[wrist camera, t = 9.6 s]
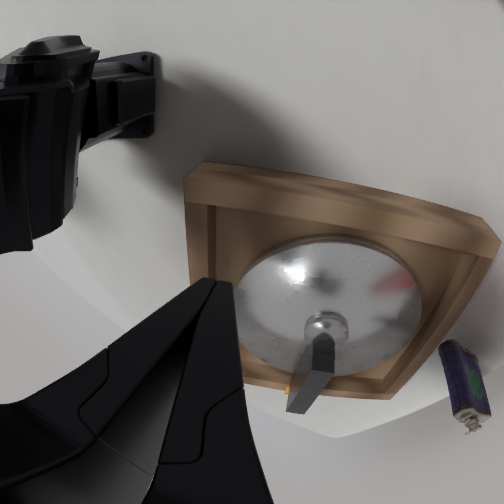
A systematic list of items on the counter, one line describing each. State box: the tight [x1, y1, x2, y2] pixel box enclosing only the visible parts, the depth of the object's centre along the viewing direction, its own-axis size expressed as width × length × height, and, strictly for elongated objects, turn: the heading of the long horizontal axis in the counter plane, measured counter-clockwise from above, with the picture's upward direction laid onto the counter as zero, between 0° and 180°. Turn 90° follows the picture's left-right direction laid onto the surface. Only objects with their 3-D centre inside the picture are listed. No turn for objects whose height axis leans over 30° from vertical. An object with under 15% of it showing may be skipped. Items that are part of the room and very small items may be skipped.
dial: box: [234, 233, 422, 414], centre depth 21 cm, size 17×16×5 cm
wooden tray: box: [184, 162, 502, 400], centre depth 23 cm, size 22×22×4 cm
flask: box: [438, 340, 491, 435], centre depth 22 cm, size 9×3×11 cm, turn 59°
